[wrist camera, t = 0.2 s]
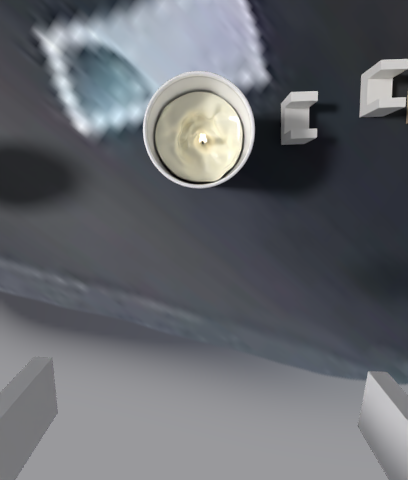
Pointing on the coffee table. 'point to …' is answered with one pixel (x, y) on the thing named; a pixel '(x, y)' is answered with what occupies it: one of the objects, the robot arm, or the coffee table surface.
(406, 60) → the clips
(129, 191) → the coffee table surface
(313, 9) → the coffee table surface
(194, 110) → the candle holder
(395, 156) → the coffee table surface
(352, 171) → the coffee table surface
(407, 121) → the square wooden tray
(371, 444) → the robot arm
